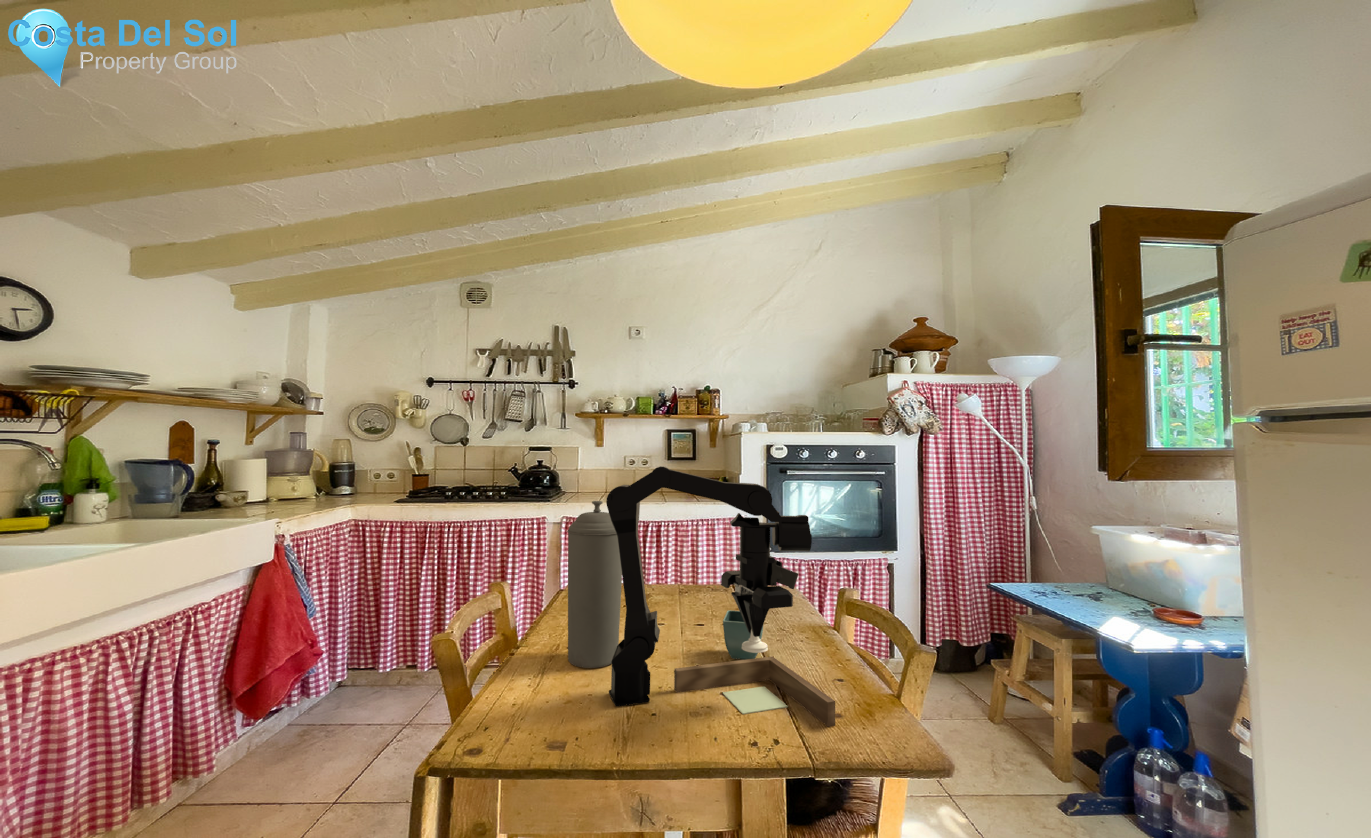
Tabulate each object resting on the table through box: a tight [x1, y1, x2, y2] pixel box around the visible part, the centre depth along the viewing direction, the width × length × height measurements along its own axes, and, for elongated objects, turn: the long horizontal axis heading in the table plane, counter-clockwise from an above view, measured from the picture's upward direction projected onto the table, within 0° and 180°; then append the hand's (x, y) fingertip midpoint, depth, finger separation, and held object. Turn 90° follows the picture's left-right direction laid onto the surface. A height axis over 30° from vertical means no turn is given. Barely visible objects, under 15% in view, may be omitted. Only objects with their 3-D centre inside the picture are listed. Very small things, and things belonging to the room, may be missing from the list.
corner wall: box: [673, 656, 836, 728], centre depth 100 cm, size 22×22×4 cm
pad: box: [722, 686, 789, 715], centre depth 102 cm, size 9×9×1 cm
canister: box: [567, 500, 623, 669], centre depth 122 cm, size 13×13×35 cm
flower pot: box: [722, 610, 764, 660], centre depth 125 cm, size 9×9×9 cm
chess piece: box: [742, 629, 769, 654], centre depth 103 cm, size 5×5×10 cm
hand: (754, 634), depth 103 cm, fingers closed on chess piece
